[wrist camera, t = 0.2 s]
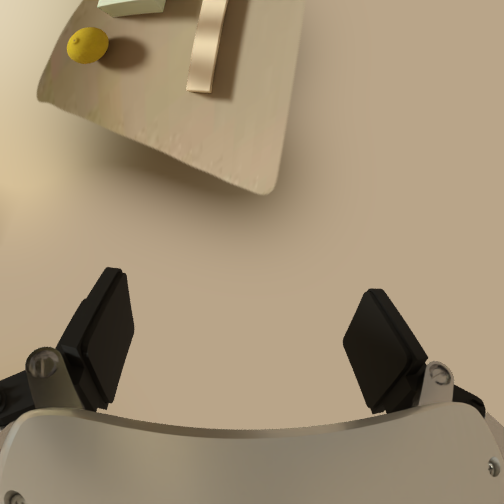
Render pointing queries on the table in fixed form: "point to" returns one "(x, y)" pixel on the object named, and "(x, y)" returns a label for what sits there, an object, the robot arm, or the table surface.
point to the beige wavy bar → (206, 46)
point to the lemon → (87, 45)
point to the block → (131, 7)
